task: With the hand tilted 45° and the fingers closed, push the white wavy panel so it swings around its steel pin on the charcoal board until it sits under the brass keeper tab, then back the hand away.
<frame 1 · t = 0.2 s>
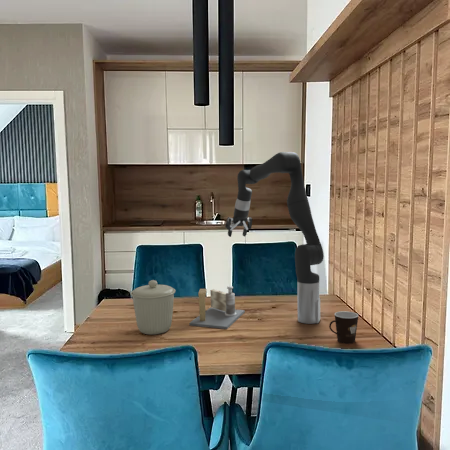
hand: (236, 236, 238), 31 cm above the table, tool tilted 20°, fingers open, 8 cm apart
brass keeper: (202, 322, 194), resting on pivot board
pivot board: (218, 318, 198), on the table
coffee mug: (342, 341, 169), on the table
canister: (154, 331, 185), on the table
white wavy panel: (222, 300, 204), point 6 cm above the table, hinge at -30.0°
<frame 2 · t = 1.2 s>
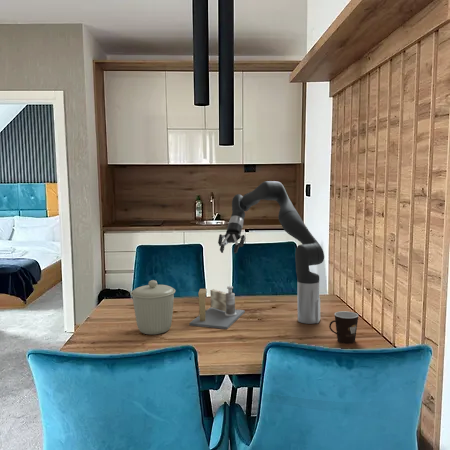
hand: (228, 252, 226), 25 cm above the table, tool tilted 45°, fingers open, 6 cm apart
nothing on the table moved.
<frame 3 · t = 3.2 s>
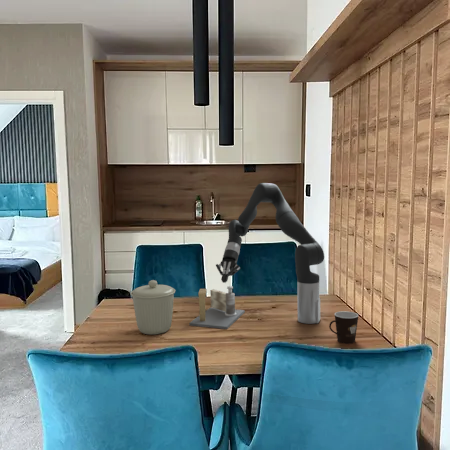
hand: (223, 281, 220), 11 cm above the table, tool tilted 45°, fingers closed
nothing on the table moved.
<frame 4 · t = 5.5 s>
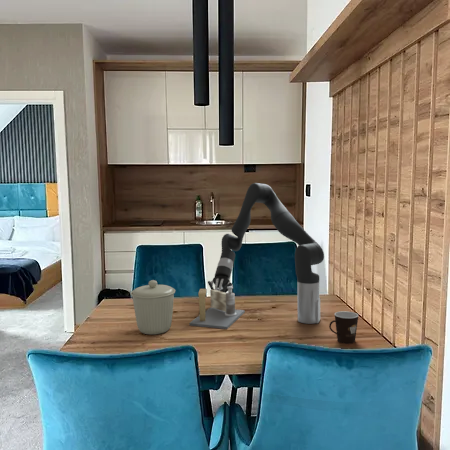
hand: (215, 300, 211), 5 cm above the table, tool tilted 45°, fingers closed
white wavy panel: (222, 300, 204), point 6 cm above the table, hinge at -29.8°, touching gripper
everything else where it was.
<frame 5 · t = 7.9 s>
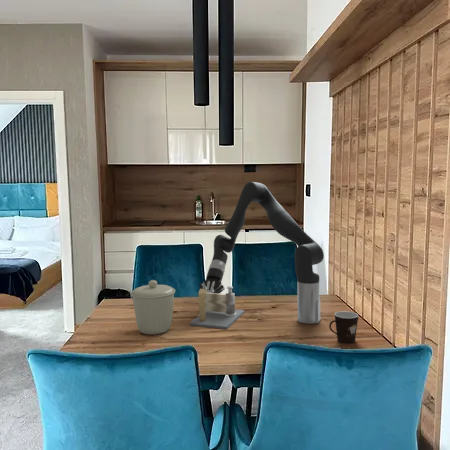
hand: (206, 303, 206), 5 cm above the table, tool tilted 45°, fingers closed
white wavy panel: (218, 302, 202), point 6 cm above the table, hinge at -1.5°, touching gripper
everything else where it was.
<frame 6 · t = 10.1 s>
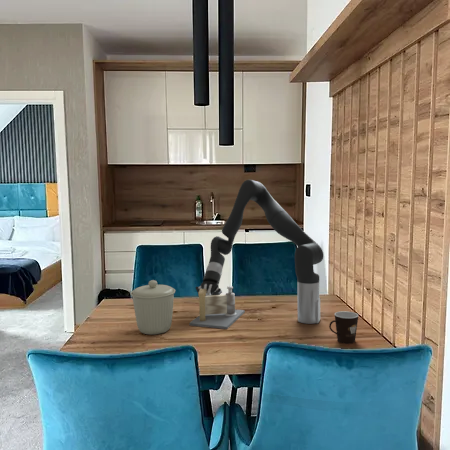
hand: (203, 306, 200), 5 cm above the table, tool tilted 45°, fingers closed
white wavy panel: (218, 304, 199), point 6 cm above the table, hinge at 28.0°, touching gripper
everything else where it was.
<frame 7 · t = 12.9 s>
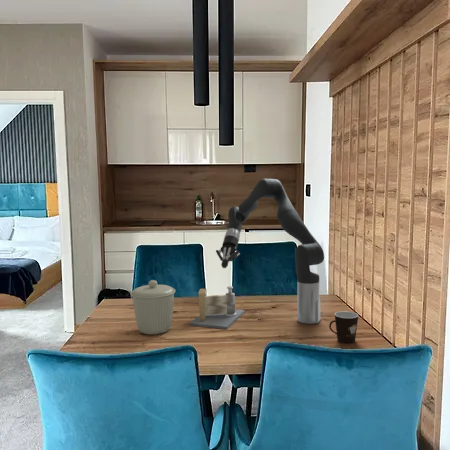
hand: (223, 267, 221), 18 cm above the table, tool tilted 45°, fingers closed
white wavy panel: (218, 304, 199), point 6 cm above the table, hinge at 28.2°
everything else where it was.
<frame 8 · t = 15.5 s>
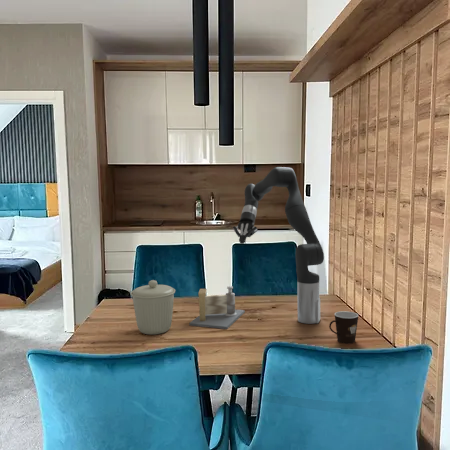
hand: (241, 242, 221), 30 cm above the table, tool tilted 45°, fingers closed
nothing on the table moved.
at the end: white wavy panel at +28° (first picture: -30°); the gripper is holding nothing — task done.
